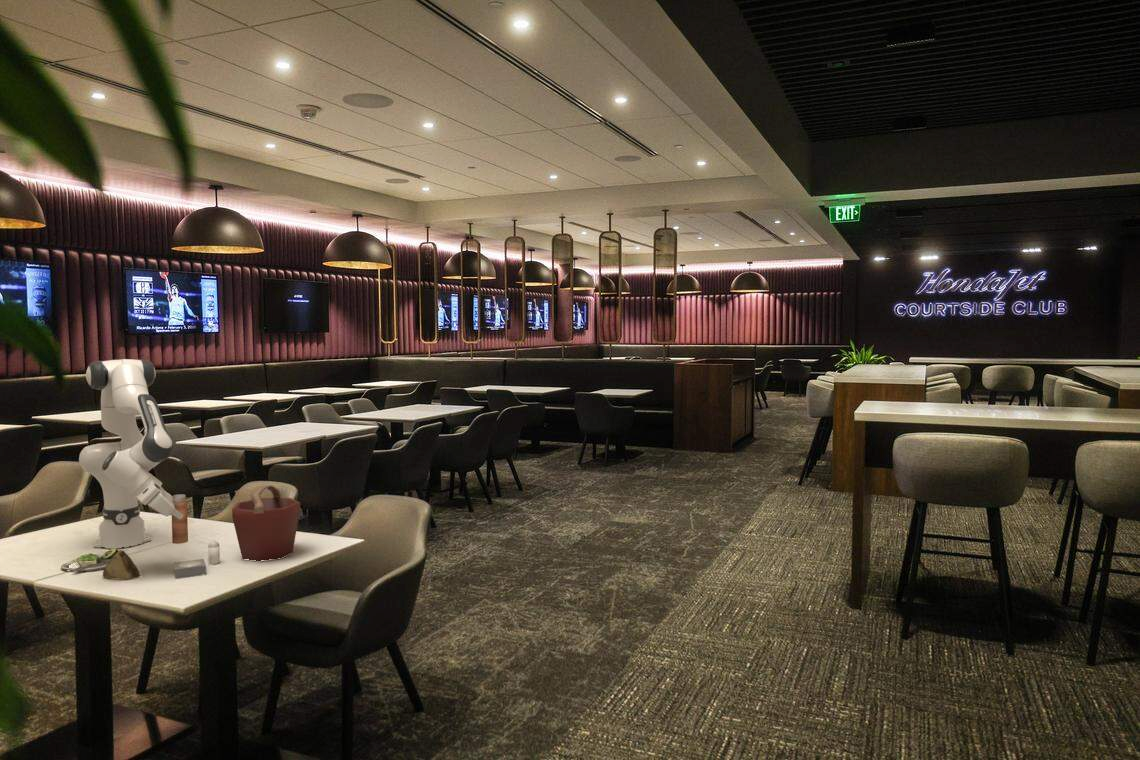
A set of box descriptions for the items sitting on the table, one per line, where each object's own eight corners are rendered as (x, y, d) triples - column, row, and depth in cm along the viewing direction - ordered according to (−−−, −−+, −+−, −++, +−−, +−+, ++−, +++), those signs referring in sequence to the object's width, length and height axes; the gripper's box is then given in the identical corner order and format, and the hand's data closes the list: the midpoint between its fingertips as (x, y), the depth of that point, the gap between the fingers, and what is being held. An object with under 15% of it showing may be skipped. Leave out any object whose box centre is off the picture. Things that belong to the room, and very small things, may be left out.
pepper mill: (172, 540, 265) (170, 494, 263) (187, 539, 267) (186, 493, 266) (172, 544, 260) (171, 497, 259) (188, 542, 263) (187, 496, 262)
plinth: (174, 571, 259) (174, 562, 259) (203, 567, 264) (203, 558, 263) (175, 578, 251) (175, 569, 251) (206, 574, 256) (205, 565, 256)
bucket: (273, 566, 264) (271, 494, 263) (216, 562, 269) (214, 492, 267) (311, 547, 288) (309, 481, 287) (258, 544, 293) (256, 479, 291)
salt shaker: (208, 562, 269) (207, 540, 269) (219, 561, 271) (218, 539, 270) (209, 565, 266) (208, 543, 265) (220, 563, 268) (219, 541, 267)
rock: (91, 573, 250) (106, 574, 244) (106, 548, 254) (121, 548, 249) (121, 585, 257) (136, 587, 251) (135, 561, 261) (150, 562, 256)
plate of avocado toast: (96, 576, 255) (96, 562, 255) (46, 575, 256) (45, 561, 256) (134, 559, 274) (134, 546, 274) (87, 558, 276) (87, 545, 275)
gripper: (140, 491, 266) (173, 515, 271) (140, 503, 248) (175, 529, 254) (155, 477, 268) (187, 501, 273) (156, 488, 250) (190, 514, 255)
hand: (181, 515), depth 263 cm, fingers closed on pepper mill, 5 cm apart
